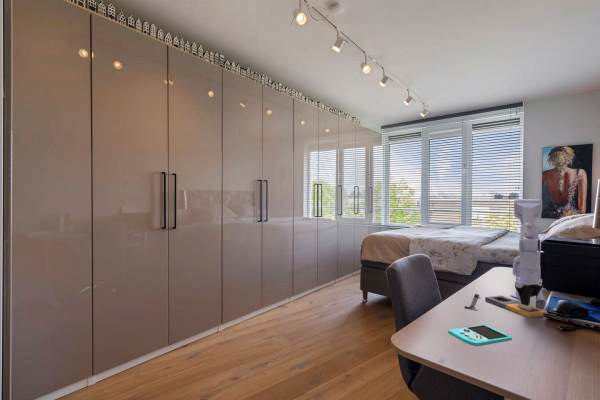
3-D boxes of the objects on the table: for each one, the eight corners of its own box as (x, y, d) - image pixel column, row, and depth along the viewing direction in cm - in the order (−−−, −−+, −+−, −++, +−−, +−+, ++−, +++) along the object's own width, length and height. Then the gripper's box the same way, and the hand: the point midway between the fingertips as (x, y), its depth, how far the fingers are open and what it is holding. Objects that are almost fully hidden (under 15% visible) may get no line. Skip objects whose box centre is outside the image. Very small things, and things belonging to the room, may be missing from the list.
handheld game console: (447, 333, 99) (447, 328, 99) (484, 327, 104) (484, 323, 104) (472, 347, 90) (472, 343, 90) (512, 340, 95) (512, 336, 95)
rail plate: (501, 298, 133) (501, 295, 133) (547, 315, 114) (547, 311, 114) (485, 300, 130) (485, 297, 130) (529, 317, 112) (529, 313, 112)
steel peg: (524, 307, 120) (524, 292, 120) (535, 311, 116) (536, 295, 116) (518, 309, 118) (518, 294, 118) (529, 312, 115) (530, 297, 115)
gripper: (528, 265, 124) (527, 298, 124) (506, 268, 117) (506, 303, 117) (548, 269, 117) (547, 303, 117) (526, 272, 111) (526, 309, 111)
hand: (528, 303), depth 117 cm, fingers closed on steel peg, 4 cm apart
